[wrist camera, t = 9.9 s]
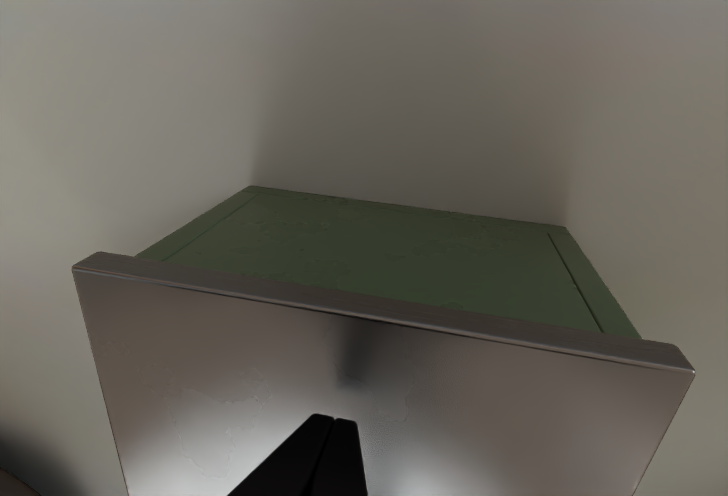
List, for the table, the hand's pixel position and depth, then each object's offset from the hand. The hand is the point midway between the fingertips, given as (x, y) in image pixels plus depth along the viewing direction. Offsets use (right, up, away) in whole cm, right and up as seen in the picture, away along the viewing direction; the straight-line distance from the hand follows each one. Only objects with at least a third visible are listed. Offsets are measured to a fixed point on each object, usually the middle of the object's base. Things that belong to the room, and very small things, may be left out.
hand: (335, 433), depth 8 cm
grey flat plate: (0, -3, +3) cm, 5 cm away
